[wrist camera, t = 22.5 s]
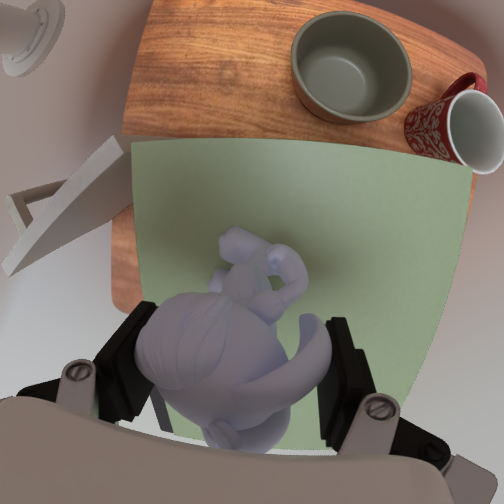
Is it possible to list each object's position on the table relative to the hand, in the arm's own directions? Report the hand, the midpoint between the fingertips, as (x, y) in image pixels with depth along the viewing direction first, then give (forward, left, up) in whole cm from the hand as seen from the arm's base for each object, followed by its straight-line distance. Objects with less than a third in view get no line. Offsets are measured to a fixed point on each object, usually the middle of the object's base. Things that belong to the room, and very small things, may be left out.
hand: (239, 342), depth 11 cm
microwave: (+2, -6, -29) cm, 30 cm away
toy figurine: (0, 0, -7) cm, 7 cm away
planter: (+8, +17, -29) cm, 35 cm away
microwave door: (-19, +5, -29) cm, 35 cm away
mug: (+22, +14, -29) cm, 39 cm away
